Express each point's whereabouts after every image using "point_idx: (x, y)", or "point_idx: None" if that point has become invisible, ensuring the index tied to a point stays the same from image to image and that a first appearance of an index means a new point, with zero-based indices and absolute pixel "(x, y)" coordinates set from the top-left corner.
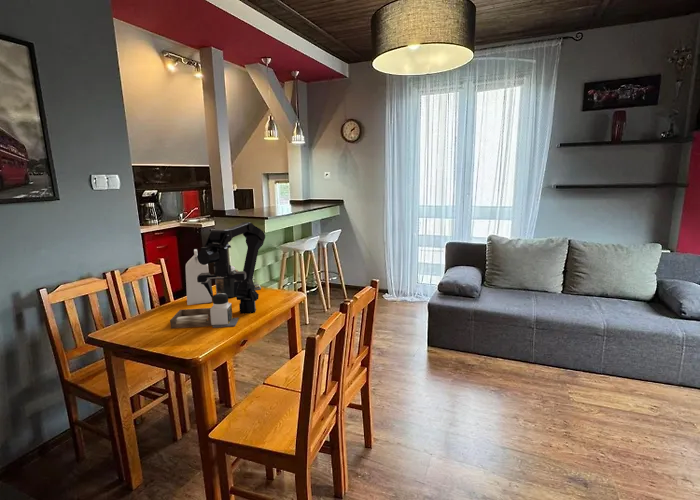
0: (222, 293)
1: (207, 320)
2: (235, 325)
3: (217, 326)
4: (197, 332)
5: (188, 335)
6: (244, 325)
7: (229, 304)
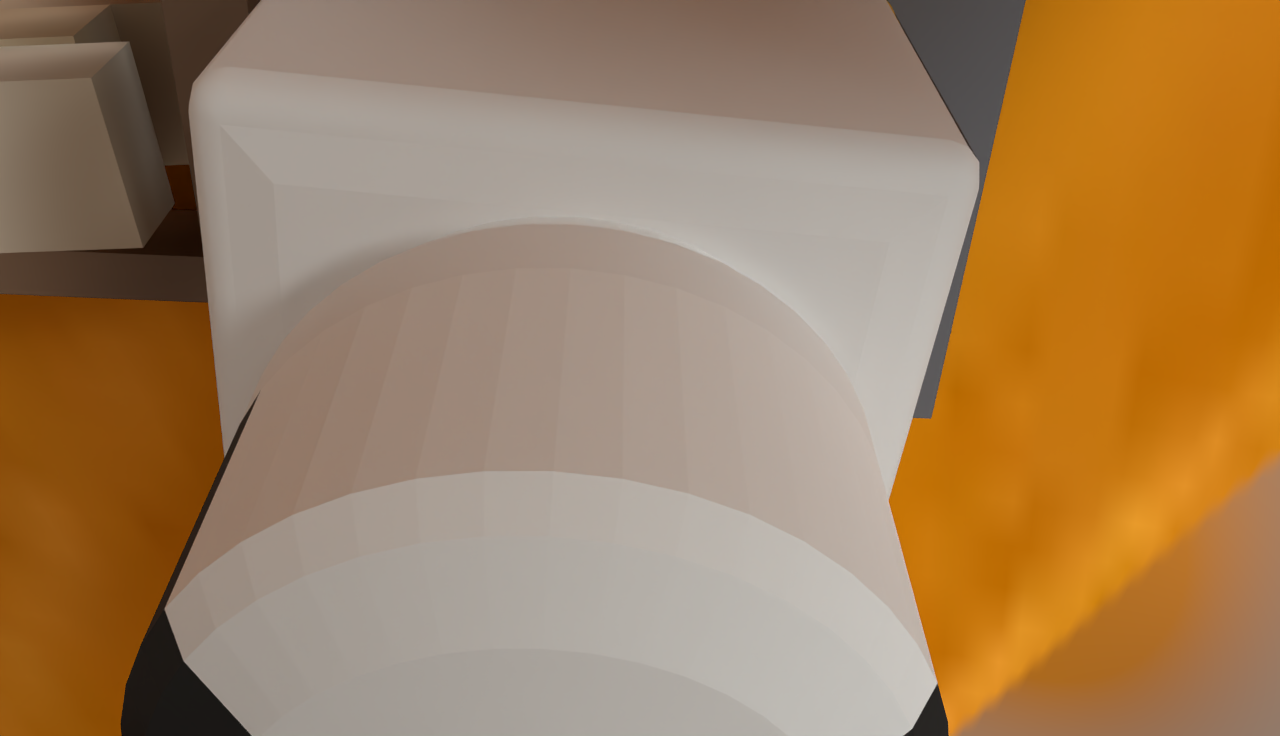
0: (625, 689)
1: (133, 29)
2: (933, 367)
3: None
4: (170, 535)
5: (57, 624)
6: (1135, 379)
7: (901, 366)
